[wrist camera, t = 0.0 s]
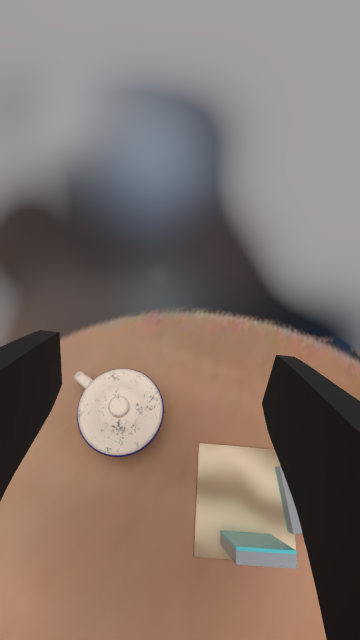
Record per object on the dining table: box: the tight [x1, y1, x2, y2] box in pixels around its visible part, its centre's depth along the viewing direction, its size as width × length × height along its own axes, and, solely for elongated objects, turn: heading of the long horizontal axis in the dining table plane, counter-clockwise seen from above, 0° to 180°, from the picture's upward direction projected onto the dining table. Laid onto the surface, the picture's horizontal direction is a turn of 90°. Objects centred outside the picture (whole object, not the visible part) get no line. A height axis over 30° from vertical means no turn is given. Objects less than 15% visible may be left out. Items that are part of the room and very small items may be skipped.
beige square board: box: [194, 443, 296, 559], centre depth 37 cm, size 12×12×1 cm
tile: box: [220, 530, 298, 569], centre depth 32 cm, size 1×6×7 cm, turn 85°
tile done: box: [275, 466, 302, 535], centre depth 37 cm, size 7×6×1 cm
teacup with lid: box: [74, 369, 164, 457], centre depth 35 cm, size 12×9×12 cm
